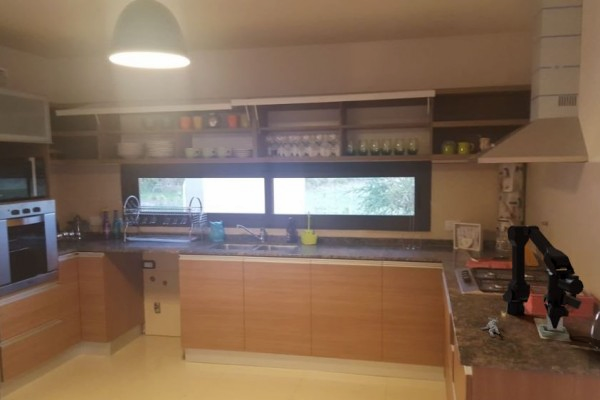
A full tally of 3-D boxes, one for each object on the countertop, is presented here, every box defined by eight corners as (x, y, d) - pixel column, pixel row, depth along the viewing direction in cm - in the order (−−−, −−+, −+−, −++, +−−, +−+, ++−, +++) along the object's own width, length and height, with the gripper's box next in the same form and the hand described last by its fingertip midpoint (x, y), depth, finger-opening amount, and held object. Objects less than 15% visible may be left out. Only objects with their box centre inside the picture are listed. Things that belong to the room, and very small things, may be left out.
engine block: (547, 330, 174) (548, 317, 174) (545, 326, 178) (546, 314, 177) (562, 331, 172) (563, 319, 172) (560, 328, 176) (561, 315, 176)
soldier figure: (483, 338, 177) (476, 318, 187) (491, 346, 177) (484, 325, 188) (499, 327, 174) (492, 308, 184) (508, 335, 174) (500, 315, 185)
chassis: (540, 340, 172) (541, 332, 172) (533, 320, 193) (533, 313, 193) (571, 344, 169) (571, 336, 168) (560, 323, 190) (560, 316, 190)
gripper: (586, 296, 162) (583, 338, 164) (575, 282, 179) (572, 321, 181) (550, 292, 166) (548, 334, 168) (543, 279, 183) (541, 317, 185)
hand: (553, 326), depth 175 cm, fingers closed on engine block, 4 cm apart
